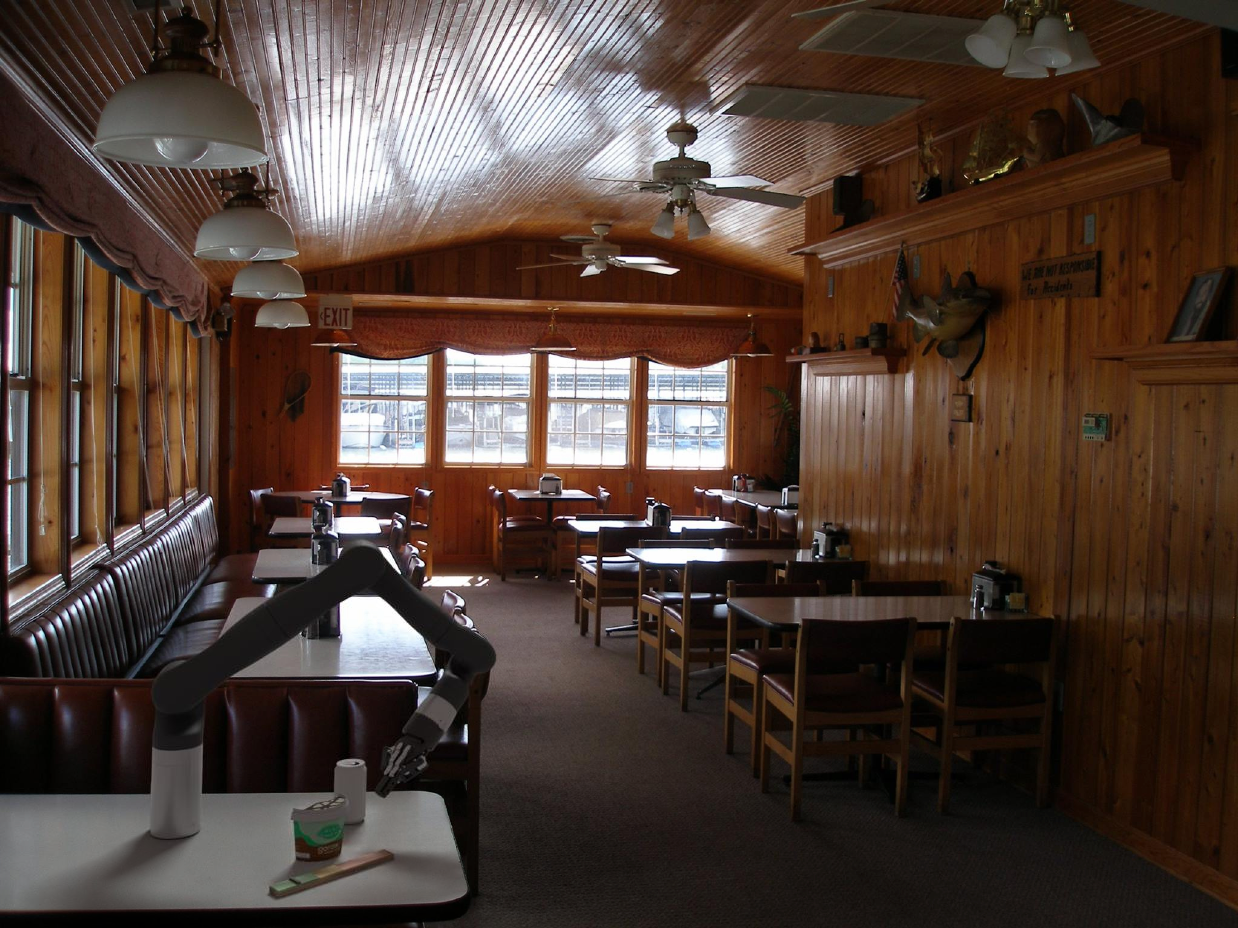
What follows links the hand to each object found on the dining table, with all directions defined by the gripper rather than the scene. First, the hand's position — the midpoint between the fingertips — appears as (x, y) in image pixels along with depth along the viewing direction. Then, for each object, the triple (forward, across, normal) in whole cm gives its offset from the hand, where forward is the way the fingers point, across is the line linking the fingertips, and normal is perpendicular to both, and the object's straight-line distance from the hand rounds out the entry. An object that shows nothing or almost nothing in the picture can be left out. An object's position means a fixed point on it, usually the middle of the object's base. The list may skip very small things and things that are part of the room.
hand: (379, 795), depth 209 cm
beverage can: (+5, -13, +8) cm, 16 cm away
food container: (+15, 0, -2) cm, 15 cm away
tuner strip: (+17, +8, -5) cm, 20 cm away
